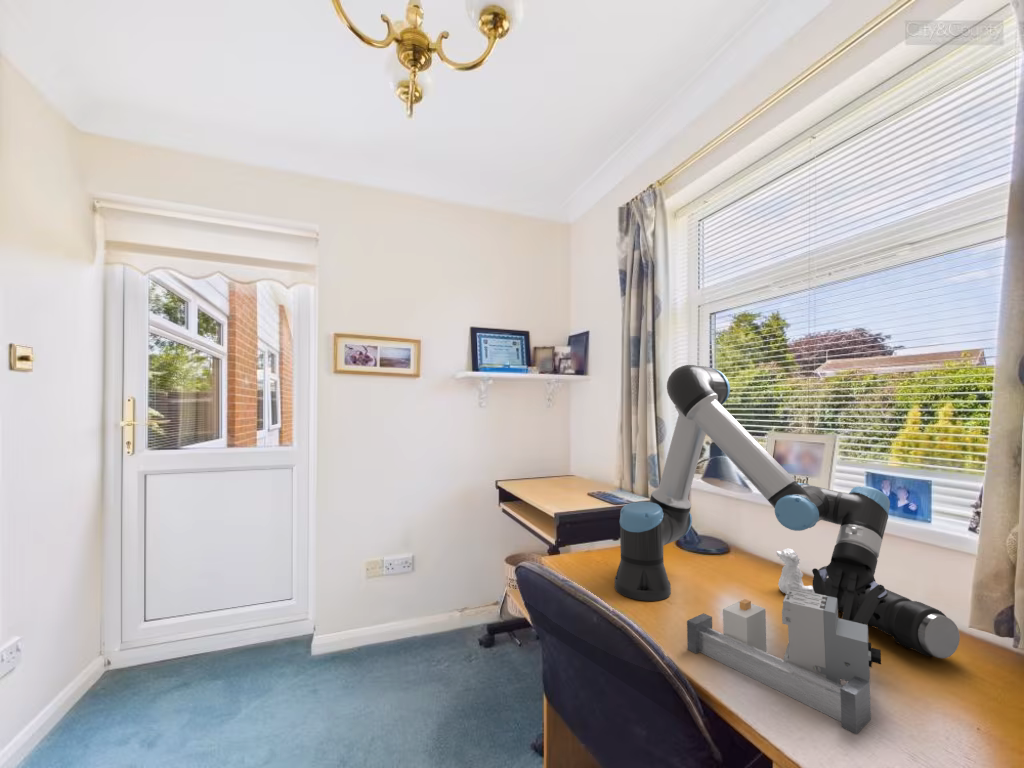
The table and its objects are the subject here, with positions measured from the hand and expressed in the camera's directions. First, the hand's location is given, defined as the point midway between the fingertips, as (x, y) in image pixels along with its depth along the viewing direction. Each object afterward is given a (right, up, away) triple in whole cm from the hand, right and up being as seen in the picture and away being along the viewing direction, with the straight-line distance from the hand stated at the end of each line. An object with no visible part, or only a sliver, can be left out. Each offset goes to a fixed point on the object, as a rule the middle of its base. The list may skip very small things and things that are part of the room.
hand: (828, 655), depth 87 cm
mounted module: (-12, -4, +7) cm, 15 cm away
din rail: (-13, -3, -2) cm, 14 cm away
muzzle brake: (+23, -4, +16) cm, 28 cm away
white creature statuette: (+17, -5, +37) cm, 41 cm away
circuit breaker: (-3, -3, -5) cm, 6 cm away
